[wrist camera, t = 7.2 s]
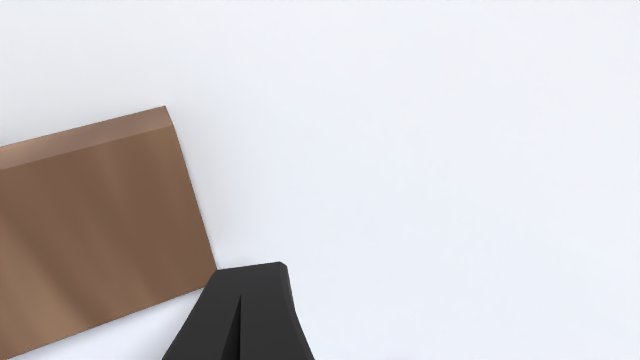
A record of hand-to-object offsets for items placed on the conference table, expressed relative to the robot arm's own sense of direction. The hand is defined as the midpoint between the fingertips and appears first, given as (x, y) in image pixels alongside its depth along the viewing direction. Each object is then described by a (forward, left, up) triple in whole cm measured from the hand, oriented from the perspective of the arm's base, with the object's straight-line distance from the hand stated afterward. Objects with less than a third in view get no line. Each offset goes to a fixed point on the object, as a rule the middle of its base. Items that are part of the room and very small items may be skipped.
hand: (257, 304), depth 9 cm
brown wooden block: (0, +2, -5) cm, 5 cm away
